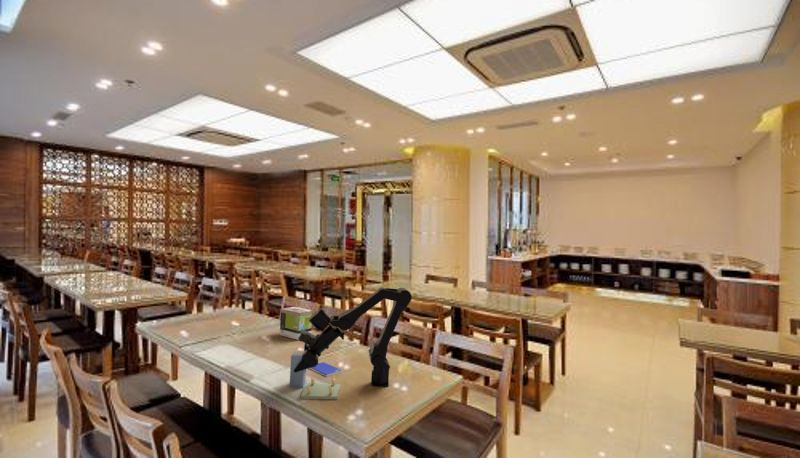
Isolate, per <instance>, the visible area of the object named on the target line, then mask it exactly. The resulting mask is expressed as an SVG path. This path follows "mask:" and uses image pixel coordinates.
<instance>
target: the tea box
mask: <svg viewBox="0 0 800 458" xmlns="http://www.w3.org/2000/svg"><path fill="white" fill-rule="evenodd" d="M312 315H313V309H309V308H304V307H298V306H291V307H290V306H289V307H285V308H280V320H279V321H280V322H279V324H280V325H279V336H282V337H286V338H290V339H293V340H297V341H299V340H298V338H299V336H300V334H301V332H302V330H305V331H307V332H309V333H311V334H313V332H312V331H313V329H312V328H313V325H312V324H311V323H310V322H309V321H308V319H309V318H310V317H311V316H312Z"/></svg>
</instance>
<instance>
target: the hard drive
mask: <svg viewBox="0 0 800 458" xmlns="http://www.w3.org/2000/svg"><path fill="white" fill-rule="evenodd" d="M308 369H309V370H312V371H314V372H315V373H318V374H319V375H322V376H324V377H326V378H327V377H330V376H333V375H336V374H339V373H343V370H342V369H341V368H338V367H336V366H334V365H331V364H329V363H326V362H324V361H322V362H318V365H316V366H315V367H311V368H308Z"/></svg>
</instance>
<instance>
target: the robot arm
mask: <svg viewBox="0 0 800 458" xmlns="http://www.w3.org/2000/svg"><path fill="white" fill-rule="evenodd" d="M412 297H413V295H412V294H411V292H410V291H409V290H408V289H406V287H400V288H392V287H391V288H390V287H389V288H387V287H381V286H380V287H379V288H378V289H377V290H376V291H375V292H373V293H371V294H370V296H368V297H366V298H365V299H364V300H362V301H361V302H360V303H359V304H356V306H355V307H352V308H349V309H347V310H345V311H343V312H341V313H340V314H338V315H331V316H329V315H328V313H326V310H324V309H323V308H322V307H321V308H320V309H318V310H317V311H316V312H314V313H312V316H311V317H310V318H309V319H308V321H309V322H310V323H311V324H312V327H314V328H315V329H316V330H317V331H320V332H321V333H317V334H313V333H309V332H307V331H305V330H302V332H301V334H300V336H299V338H298V340H297V341H299V342H302V343H304V346H303V348H304V349H303V350H302V351H305V352H304V353H303V354H302V360H301V361H300V362H299V364H298V365H297V366H296V368H295V369H294V370H293V371H294V372H295V373H296V372H299V371H302V370H304V369H306V370H307V369H309V368H311V367H315V366H316V365H318V363H319V359H320V358H319V357H321V355H322V353H323V352H325V350H328V349H329V348H330V345H332V344H333V343H334V342H335V341H336V340H337V339H338V338H340V339H342V340H345V334H346V331H348V330H350V329H351V328H352V327H353V326H354V325H355V324H356V323H357V321H358V320H359V319H360V318H361V317H362V316H363V315H365V314H366V313H368V311H370V310H371V309H372V308H373V307H375V306H377V304H379V303H380V302H382V301H383V300H389V301H393V302H392V308H391V310H390V313H389V315H388V317H387V320H386V321H385V324H384V326H383V329H382V331H381V333H380V335H379V338H378V340H377V341H376V342H374V341H372V342H371V346H370V348H369V349H368V358H369V361H370V364H371V365H372V367H373V369H371V380H370V382H371V385H372V387H389V386H390V383H389V382H390V380H389V377H390V368H391V365H390V363H389V360H388V358H387V353H388V346H389V344H390V341H391V338H392V336H393V334H394V331H395V329H396V327H397V325H398V323H399V320H400V318H401V316H402V313H403V312H404V311H405V310H406V308H407V307H408V306H409V304H410V303H411V301H412V299H413V298H412Z"/></svg>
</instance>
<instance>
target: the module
mask: <svg viewBox="0 0 800 458" xmlns="http://www.w3.org/2000/svg"><path fill="white" fill-rule="evenodd" d="M304 352H305V351H303V350H294V351H293V352H292V353H291V355H290V371H289V389H290V388H296V389H297V388H298V389H299V388H300V389H304V387H305V385H306V384H305V383H306V378H307V377H306V375H307V369H304V370H302V371H299V372H296V373H295V372H294V371H293V370H294V369H295V368H296V366H297V365H298V364H299V362H300V361H301V360H302V354H303V353H304Z"/></svg>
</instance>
